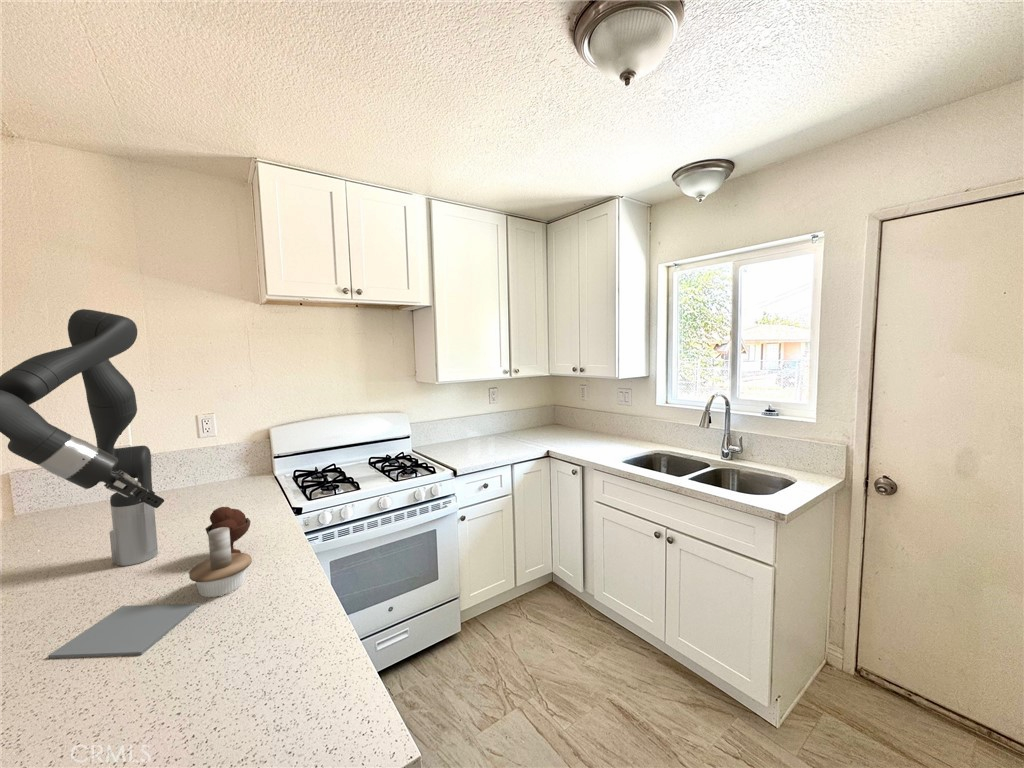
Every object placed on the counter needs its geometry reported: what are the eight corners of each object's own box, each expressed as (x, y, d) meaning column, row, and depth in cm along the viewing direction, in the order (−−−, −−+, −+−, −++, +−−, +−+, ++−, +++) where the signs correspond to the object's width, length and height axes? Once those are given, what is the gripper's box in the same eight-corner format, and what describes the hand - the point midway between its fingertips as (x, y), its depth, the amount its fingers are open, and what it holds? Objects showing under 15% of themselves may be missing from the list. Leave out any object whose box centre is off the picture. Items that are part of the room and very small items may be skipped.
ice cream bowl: (230, 566, 117) (227, 514, 115) (198, 563, 119) (194, 512, 118) (260, 548, 127) (257, 501, 126) (230, 546, 129) (226, 499, 128)
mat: (48, 658, 82) (48, 655, 82) (122, 608, 98) (122, 605, 98) (141, 654, 82) (141, 651, 82) (200, 605, 98) (199, 603, 98)
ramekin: (240, 571, 114) (239, 553, 113) (255, 585, 107) (254, 566, 106) (190, 590, 105) (188, 570, 105) (202, 606, 98) (201, 585, 98)
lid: (175, 582, 99) (172, 543, 98) (213, 556, 112) (211, 521, 111) (230, 581, 99) (227, 541, 98) (262, 555, 112) (259, 519, 111)
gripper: (102, 451, 83) (178, 491, 93) (91, 443, 92) (161, 480, 101) (66, 484, 79) (149, 522, 89) (58, 472, 88) (135, 508, 98)
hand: (156, 500), depth 95 cm, fingers open, 8 cm apart
